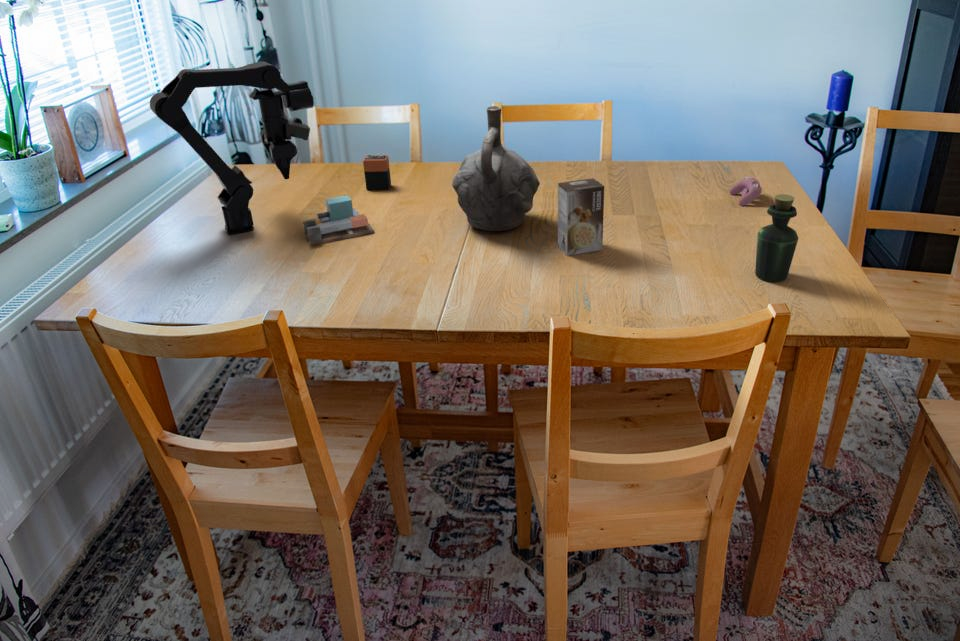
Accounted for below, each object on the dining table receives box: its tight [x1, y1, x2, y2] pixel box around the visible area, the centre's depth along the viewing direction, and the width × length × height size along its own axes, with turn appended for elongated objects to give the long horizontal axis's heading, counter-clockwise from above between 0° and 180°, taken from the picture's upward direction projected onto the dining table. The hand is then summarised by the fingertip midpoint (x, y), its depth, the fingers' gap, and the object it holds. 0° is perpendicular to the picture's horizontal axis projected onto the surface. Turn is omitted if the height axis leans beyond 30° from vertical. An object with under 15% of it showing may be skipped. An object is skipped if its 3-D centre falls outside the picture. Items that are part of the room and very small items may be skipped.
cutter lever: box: [311, 213, 369, 234], centre depth 190 cm, size 15×3×2 cm, turn 113°
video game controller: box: [729, 176, 763, 207], centre depth 201 cm, size 10×5×7 cm, turn 0°
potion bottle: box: [754, 193, 799, 283], centre depth 158 cm, size 8×8×18 cm
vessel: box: [451, 105, 541, 232], centre depth 185 cm, size 24×22×30 cm
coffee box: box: [557, 177, 605, 256], centre depth 175 cm, size 9×6×16 cm
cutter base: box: [302, 218, 375, 246], centre depth 190 cm, size 16×6×4 cm, turn 113°
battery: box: [362, 153, 392, 191], centre depth 218 cm, size 4×7×10 cm, turn 86°
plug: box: [316, 195, 354, 222], centre depth 197 cm, size 9×4×5 cm, turn 114°
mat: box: [319, 207, 361, 224], centre depth 199 cm, size 10×10×1 cm
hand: (283, 173), depth 198 cm, fingers open, 9 cm apart
